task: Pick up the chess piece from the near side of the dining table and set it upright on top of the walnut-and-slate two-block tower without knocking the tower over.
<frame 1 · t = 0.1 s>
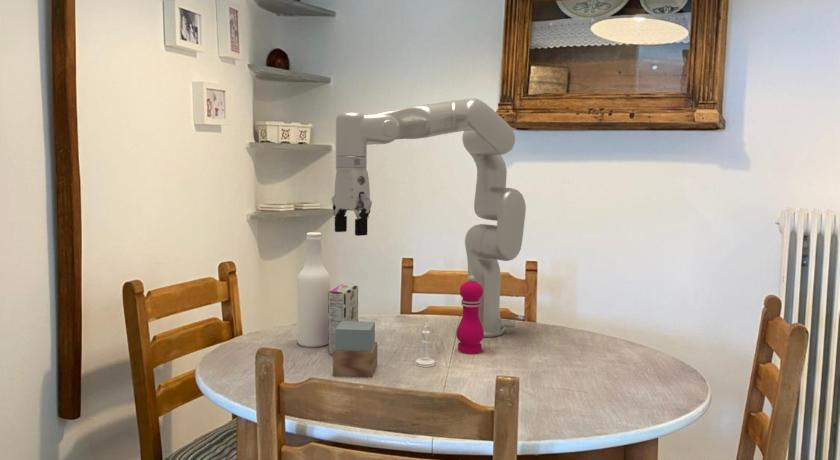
hand: (350, 233, 159), 31 cm above the table, tool pointing down, fingers open, 9 cm apart
chess piece: (425, 364, 157), on the table
white bottle: (313, 344, 174), on the table
walnut base block: (355, 371, 151), on the table, touching slate top block
slate top block: (355, 346, 151), point 6 cm above the table, touching walnut base block
pepper mill: (469, 351, 170), on the table
candy bar box: (343, 350, 169), on the table
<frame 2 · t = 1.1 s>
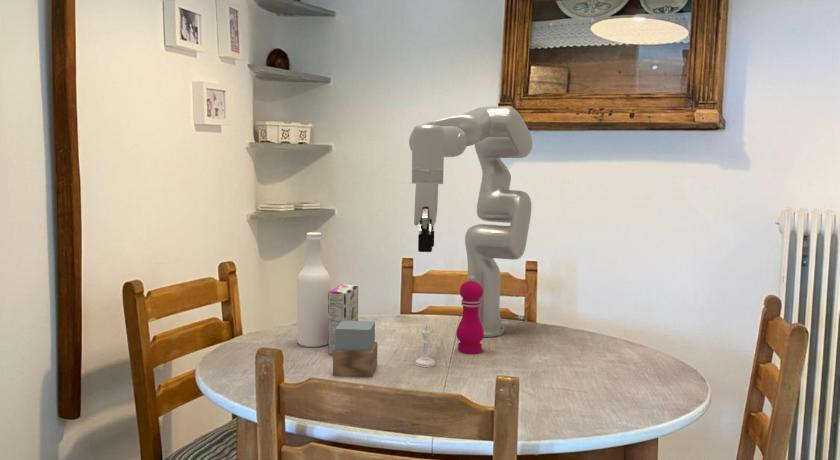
hand: (426, 249, 155), 28 cm above the table, tool pointing down, fingers open, 9 cm apart
nothing on the table moved.
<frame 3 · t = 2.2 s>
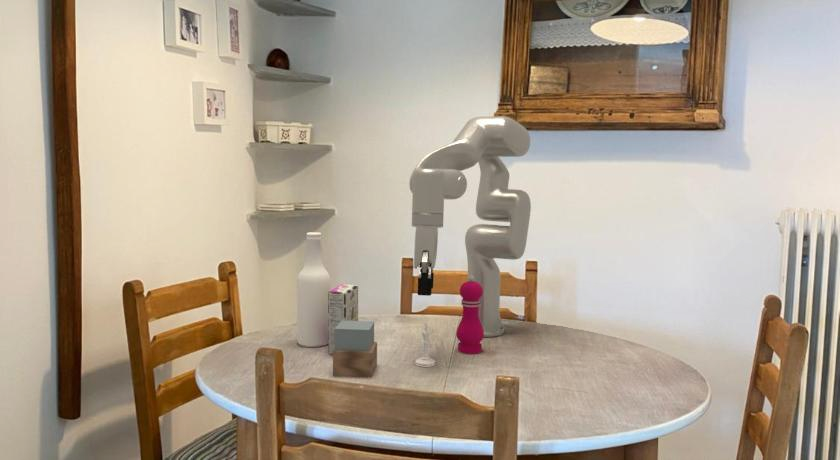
hand: (425, 291, 155), 18 cm above the table, tool pointing down, fingers open, 9 cm apart
nothing on the table moved.
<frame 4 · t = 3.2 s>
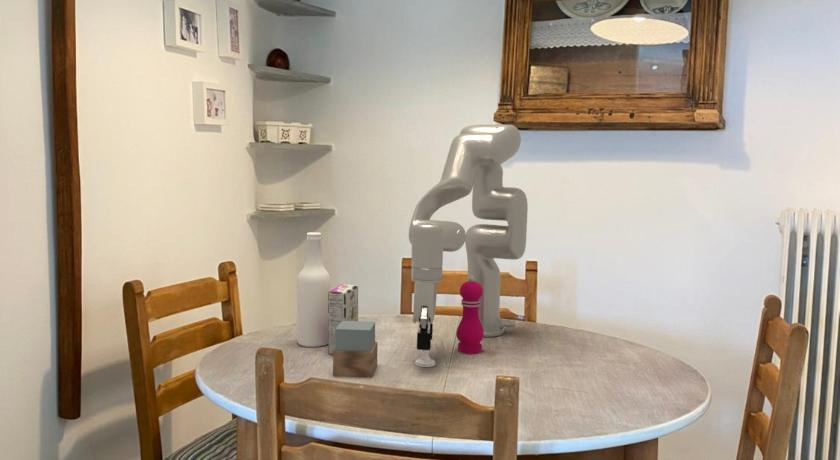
hand: (424, 344, 156), 5 cm above the table, tool pointing down, fingers open, 9 cm apart
nothing on the table moved.
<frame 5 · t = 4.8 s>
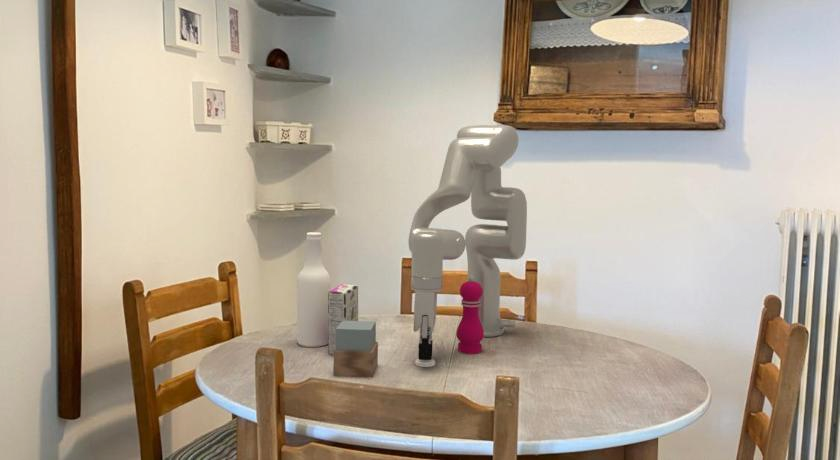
hand: (425, 357, 157), 2 cm above the table, tool pointing down, fingers closed on chess piece
chess piece: (425, 364, 157), on the table, touching gripper
everything else where it was.
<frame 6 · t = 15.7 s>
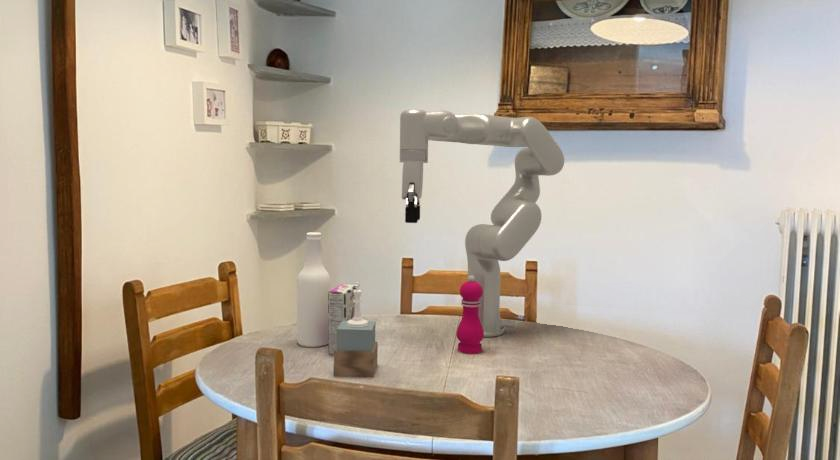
hand: (412, 221, 173), 33 cm above the table, tool pointing down, fingers open, 9 cm apart
chess piece: (357, 325, 150), point 11 cm above the table, touching slate top block
slate top block: (356, 346, 151), point 6 cm above the table, touching chess piece, walnut base block
everything else where it was.
at the end: chess piece 0.4 cm off-centre on the walnut base block, point 10.9 cm above the walnut base block's base; chess piece tilted 1°; slate top block 0.0 cm off-centre on the walnut base block, point 6.0 cm above the walnut base block's base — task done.
